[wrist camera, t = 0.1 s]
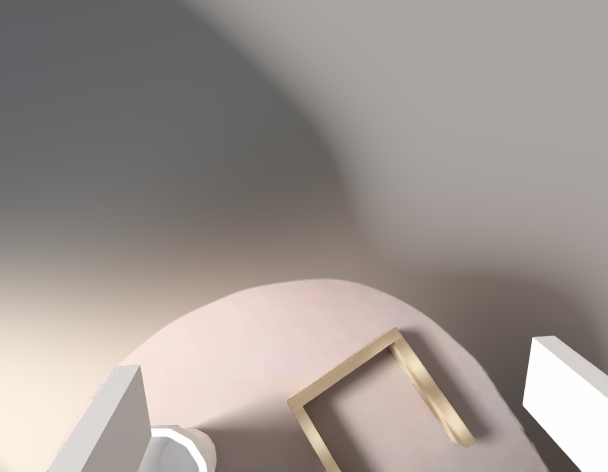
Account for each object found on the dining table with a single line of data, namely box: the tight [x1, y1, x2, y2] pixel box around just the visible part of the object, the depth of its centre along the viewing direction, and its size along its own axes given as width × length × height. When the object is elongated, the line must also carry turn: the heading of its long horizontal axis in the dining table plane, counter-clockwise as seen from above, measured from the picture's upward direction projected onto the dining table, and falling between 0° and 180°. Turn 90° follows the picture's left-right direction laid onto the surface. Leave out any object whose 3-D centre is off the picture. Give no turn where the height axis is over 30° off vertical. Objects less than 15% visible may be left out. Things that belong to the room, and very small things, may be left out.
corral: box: [287, 327, 476, 472], centre depth 44 cm, size 14×15×4 cm
